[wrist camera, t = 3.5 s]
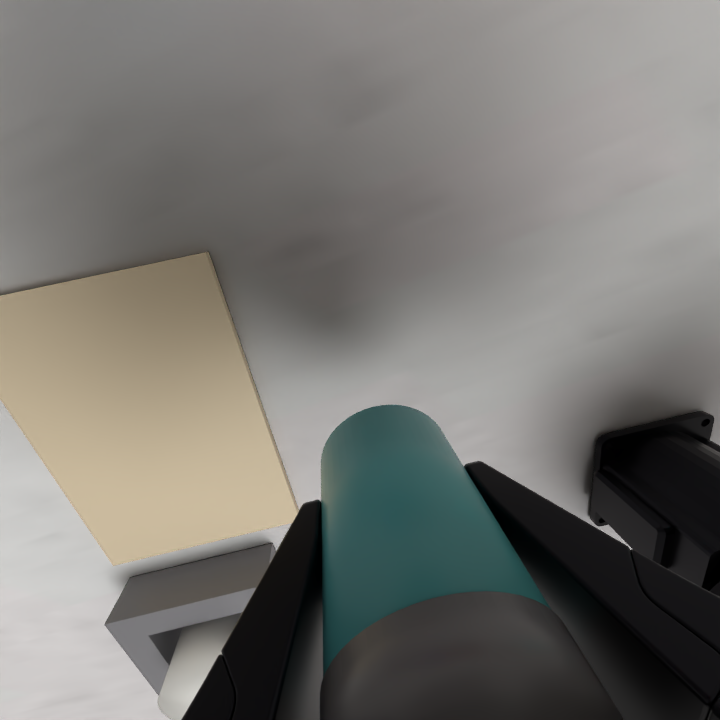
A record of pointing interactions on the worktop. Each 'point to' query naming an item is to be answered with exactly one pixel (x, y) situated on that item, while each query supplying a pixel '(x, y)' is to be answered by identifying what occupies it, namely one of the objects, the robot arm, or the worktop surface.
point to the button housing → (182, 605)
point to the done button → (193, 663)
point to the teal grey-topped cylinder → (432, 591)
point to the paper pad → (144, 407)
